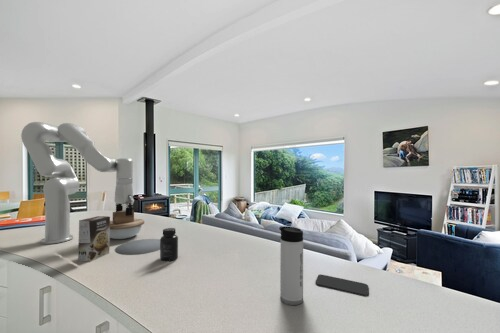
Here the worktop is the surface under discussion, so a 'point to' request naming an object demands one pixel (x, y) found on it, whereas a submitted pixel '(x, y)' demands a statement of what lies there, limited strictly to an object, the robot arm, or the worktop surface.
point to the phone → (342, 285)
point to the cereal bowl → (124, 232)
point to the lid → (124, 221)
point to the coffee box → (93, 238)
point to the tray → (138, 247)
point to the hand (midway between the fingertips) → (124, 214)
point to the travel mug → (291, 265)
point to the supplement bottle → (169, 245)
